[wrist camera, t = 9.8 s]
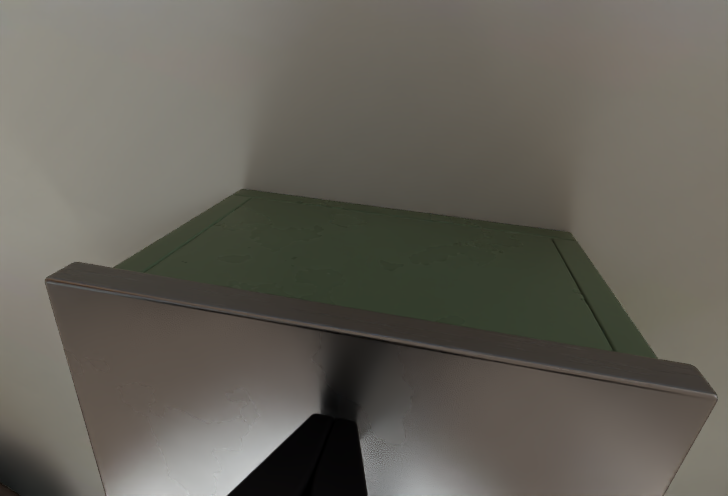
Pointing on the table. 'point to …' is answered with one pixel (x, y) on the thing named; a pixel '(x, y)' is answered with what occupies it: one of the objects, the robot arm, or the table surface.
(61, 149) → the table surface
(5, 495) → the casserole
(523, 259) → the dark green boxy piece
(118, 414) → the grey flat plate
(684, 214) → the table surface
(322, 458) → the robot arm
